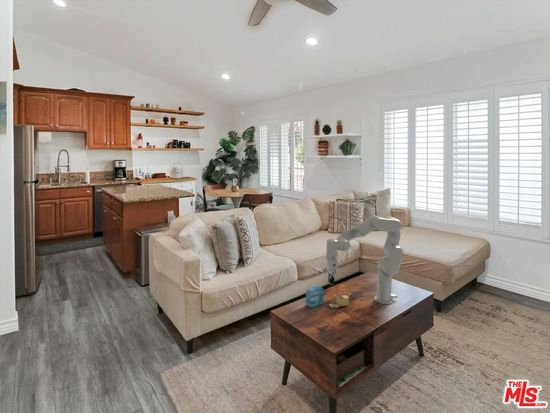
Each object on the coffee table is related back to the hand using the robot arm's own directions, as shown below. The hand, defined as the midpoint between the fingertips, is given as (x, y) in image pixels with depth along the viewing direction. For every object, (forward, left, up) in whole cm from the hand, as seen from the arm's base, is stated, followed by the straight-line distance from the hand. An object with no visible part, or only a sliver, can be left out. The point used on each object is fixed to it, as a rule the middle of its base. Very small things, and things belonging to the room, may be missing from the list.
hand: (331, 282), depth 231 cm
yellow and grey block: (-7, +3, -15) cm, 17 cm away
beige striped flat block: (0, +5, -15) cm, 16 cm away
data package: (+12, 0, -15) cm, 19 cm away
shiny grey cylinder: (0, 0, -1) cm, 1 cm away
